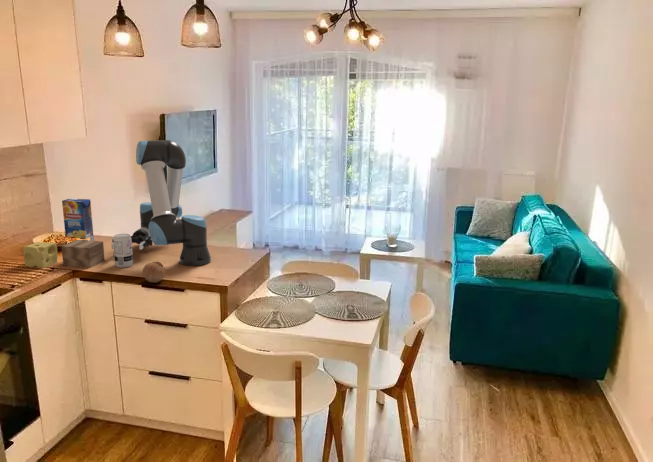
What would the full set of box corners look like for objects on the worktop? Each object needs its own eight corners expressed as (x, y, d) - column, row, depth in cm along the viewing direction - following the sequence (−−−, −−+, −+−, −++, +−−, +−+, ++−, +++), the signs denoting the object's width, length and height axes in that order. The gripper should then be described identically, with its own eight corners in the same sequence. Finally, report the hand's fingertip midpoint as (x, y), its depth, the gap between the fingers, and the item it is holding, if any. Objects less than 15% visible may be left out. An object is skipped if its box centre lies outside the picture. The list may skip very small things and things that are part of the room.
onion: (162, 285, 233) (170, 265, 234) (156, 287, 224) (166, 266, 224) (142, 277, 233) (151, 257, 233) (136, 279, 223) (145, 257, 224)
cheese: (43, 268, 242) (41, 248, 240) (23, 266, 244) (21, 246, 242) (58, 262, 252) (56, 242, 250) (39, 260, 254) (37, 240, 252)
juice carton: (94, 241, 289) (90, 199, 283) (86, 245, 282) (82, 201, 276) (74, 240, 291) (70, 198, 285) (66, 243, 284) (61, 200, 278)
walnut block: (104, 260, 257) (103, 241, 254) (90, 268, 245) (88, 248, 243) (78, 258, 258) (76, 239, 256) (63, 266, 247) (61, 246, 244)
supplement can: (114, 263, 252) (112, 234, 248) (132, 262, 255) (130, 232, 252) (115, 268, 245) (112, 238, 241) (133, 267, 248) (131, 236, 244)
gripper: (165, 243, 275) (151, 254, 254) (119, 241, 275) (101, 253, 254) (165, 229, 273) (151, 240, 252) (118, 228, 273) (100, 238, 253)
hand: (126, 246), depth 253 cm, fingers open, 13 cm apart
